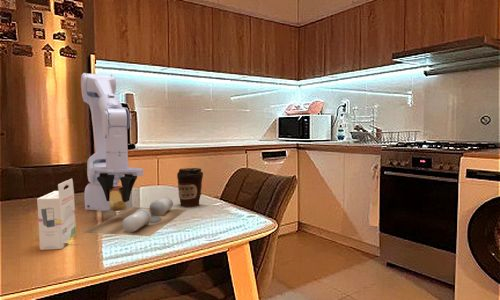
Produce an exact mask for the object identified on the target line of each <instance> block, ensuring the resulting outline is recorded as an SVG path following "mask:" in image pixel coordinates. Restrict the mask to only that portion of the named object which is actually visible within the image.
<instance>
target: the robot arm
mask: <svg viewBox="0 0 500 300" xmlns="http://www.w3.org/2000/svg"><path fill="white" fill-rule="evenodd" d="M80 88H81V96H82V101H83V103H86V104H87V105H88V106H89V109H90V113H91V122H92V123H91V125H92V132H93V141H94V150H95V153H93V154H92V155H91V156H89V158H88V159H87V162H86V163H87V166H86V167H87V168H86V173H87V180H88V183H87V185H86V186H85V188H84V192H83V193H84V210H87V211H88V210H90V211H97V212H98V211H100V212H103V211H106V212H107V211H111V210H110V209H109V189H111V187H113V186H119V183H120V182H121V186H122V189H123V202H126V203H127V202H129V201H130V198H131V194H132V190H133V188H134V185H135V182H136V181H137V179H138V177H142V176H144V168H141V167H131V166H129V160H128V159H129V154H128V153H129V152H128V151H129V150H128V130H129V128H130V123H131V116H130V111H129V109H128V107H123V105H122V103H121V101H120V99H119V97H118V96H117V95H116V94H115V93H116V90H117V80H116V77H115V75H114V74H99V73H86V72H83V73H82V74H81V76H80Z"/></svg>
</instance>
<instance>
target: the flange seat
mask: <svg viewBox="0 0 500 300" xmlns="http://www.w3.org/2000/svg"><path fill="white" fill-rule="evenodd" d="M161 220H162V218H160V217H151V222H150V223H155V222H159V221H161Z"/></svg>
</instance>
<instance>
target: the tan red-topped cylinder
mask: <svg viewBox="0 0 500 300" xmlns="http://www.w3.org/2000/svg"><path fill="white" fill-rule="evenodd" d="M109 209H110V210H109V211H115V212H117V211H118V212H119V211H123V210H124V211H125V210H127V202H123V189H122V185H118V186H113V187H111V189H109Z"/></svg>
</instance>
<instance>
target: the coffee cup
mask: <svg viewBox="0 0 500 300" xmlns="http://www.w3.org/2000/svg"><path fill="white" fill-rule="evenodd" d="M203 177H204V172H202V168H199V167H188V168H187V167H185V168H179V169H178V172H177V174H176V178H177V187H178V188H177V189H178V190H177V191H178V198H179V203H180V207H183V208H197V207H200V199H201V196H202V189H203V184H202V183H203V179H204V178H203Z"/></svg>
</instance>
